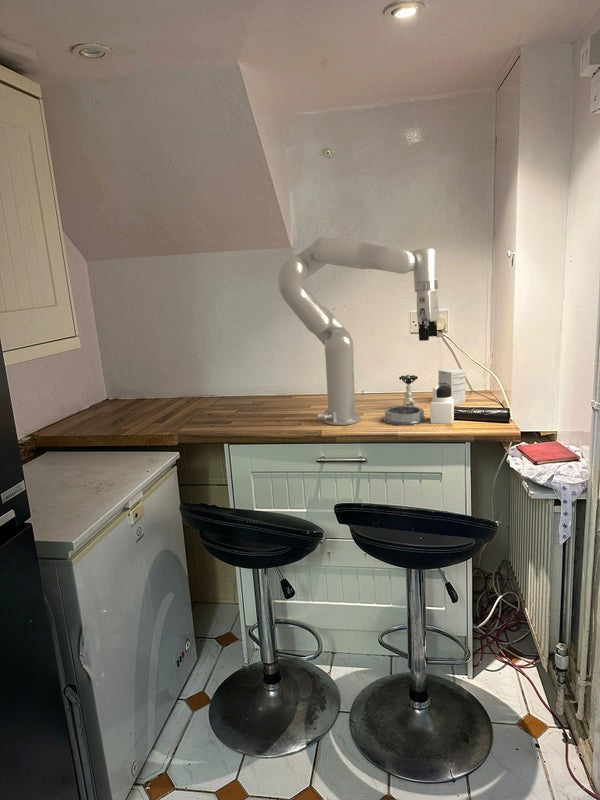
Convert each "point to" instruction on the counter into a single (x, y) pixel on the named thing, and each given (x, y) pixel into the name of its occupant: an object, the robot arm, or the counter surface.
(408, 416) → the ring collar
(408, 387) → the valve
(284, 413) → the counter surface
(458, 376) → the supplement box
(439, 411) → the medicine bottle
